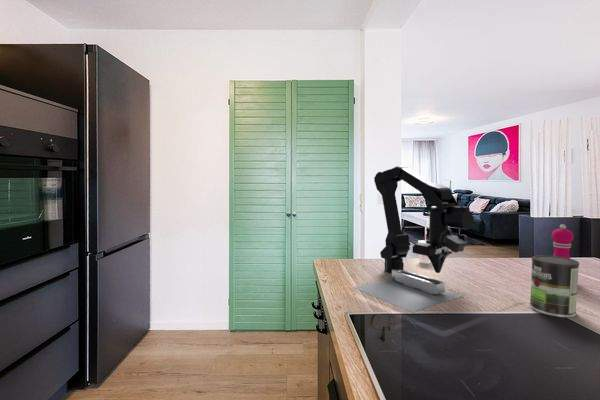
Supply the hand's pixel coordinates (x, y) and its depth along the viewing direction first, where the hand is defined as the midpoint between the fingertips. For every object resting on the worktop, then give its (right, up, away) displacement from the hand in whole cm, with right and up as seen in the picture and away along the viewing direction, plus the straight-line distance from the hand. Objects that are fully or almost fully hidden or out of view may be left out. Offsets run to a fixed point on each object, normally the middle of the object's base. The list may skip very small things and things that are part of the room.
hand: (437, 272), depth 109 cm
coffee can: (+24, -7, -18) cm, 31 cm away
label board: (-12, -6, -5) cm, 14 cm away
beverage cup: (+9, -3, +35) cm, 36 cm away
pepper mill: (+46, -5, +7) cm, 47 cm away
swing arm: (-8, -4, -1) cm, 9 cm away
